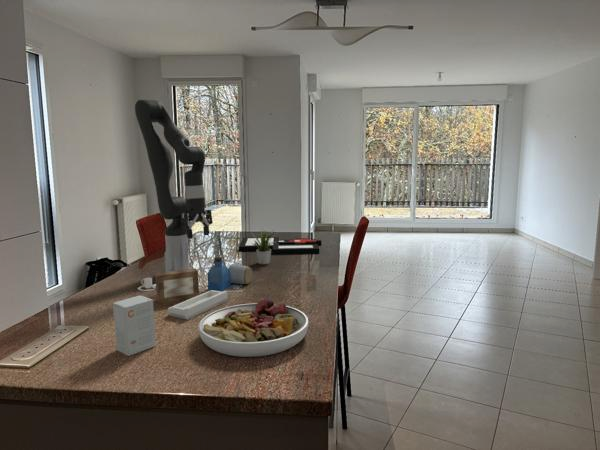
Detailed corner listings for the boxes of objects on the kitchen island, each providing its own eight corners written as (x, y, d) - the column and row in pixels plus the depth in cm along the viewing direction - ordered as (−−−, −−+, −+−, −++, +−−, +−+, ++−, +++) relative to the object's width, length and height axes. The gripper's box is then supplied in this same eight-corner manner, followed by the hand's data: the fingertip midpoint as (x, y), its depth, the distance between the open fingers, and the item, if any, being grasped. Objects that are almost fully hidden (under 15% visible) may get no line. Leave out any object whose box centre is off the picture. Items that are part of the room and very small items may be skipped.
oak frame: (158, 304, 152) (157, 276, 151) (156, 300, 156) (155, 273, 154) (199, 298, 159) (198, 270, 157) (196, 294, 162) (194, 268, 161)
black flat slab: (237, 255, 227) (325, 254, 229) (237, 250, 226) (325, 248, 228) (243, 242, 262) (319, 241, 264) (243, 237, 262) (319, 236, 264)
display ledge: (168, 315, 141) (167, 304, 140) (208, 297, 158) (208, 288, 158) (188, 319, 137) (187, 308, 137) (227, 300, 155) (227, 291, 154)
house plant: (287, 263, 207) (286, 229, 205) (262, 268, 199) (261, 232, 197) (270, 258, 219) (269, 225, 216) (246, 262, 210) (245, 228, 208)
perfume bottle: (230, 286, 172) (229, 256, 170) (222, 291, 166) (221, 260, 164) (216, 285, 174) (215, 255, 172) (208, 289, 168) (206, 259, 166)
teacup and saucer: (165, 287, 173) (164, 277, 172) (149, 293, 166) (148, 282, 165) (149, 284, 177) (148, 274, 176) (133, 290, 170) (132, 279, 170)
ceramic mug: (245, 286, 171) (245, 267, 170) (226, 285, 174) (226, 266, 173) (256, 280, 181) (256, 261, 180) (238, 278, 184) (238, 260, 183)
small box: (143, 340, 122) (140, 294, 120) (156, 346, 118) (153, 299, 116) (115, 350, 116) (111, 302, 114) (128, 356, 112) (124, 307, 110)
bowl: (298, 366, 106) (298, 335, 105) (181, 358, 111) (179, 328, 110) (314, 320, 136) (314, 296, 134) (221, 316, 140) (220, 292, 139)
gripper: (202, 195, 185) (205, 233, 188) (174, 198, 174) (178, 239, 176) (214, 195, 181) (217, 234, 183) (187, 198, 170) (191, 240, 172)
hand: (198, 236), depth 180 cm, fingers open, 8 cm apart
